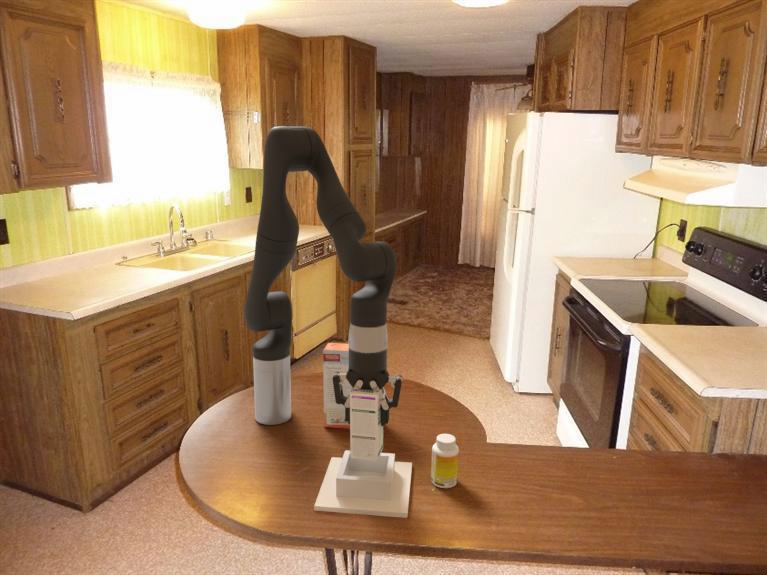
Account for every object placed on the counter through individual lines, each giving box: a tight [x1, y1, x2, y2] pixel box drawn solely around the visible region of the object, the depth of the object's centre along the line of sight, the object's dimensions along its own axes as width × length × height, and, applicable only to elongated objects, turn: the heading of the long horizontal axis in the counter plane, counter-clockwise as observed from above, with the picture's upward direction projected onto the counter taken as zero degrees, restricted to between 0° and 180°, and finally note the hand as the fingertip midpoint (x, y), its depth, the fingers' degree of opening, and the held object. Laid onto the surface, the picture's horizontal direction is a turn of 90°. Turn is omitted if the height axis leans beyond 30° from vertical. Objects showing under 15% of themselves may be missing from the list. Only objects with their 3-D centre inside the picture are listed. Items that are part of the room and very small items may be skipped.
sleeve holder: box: [313, 449, 413, 519], centre depth 116 cm, size 18×18×5 cm
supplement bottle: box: [430, 433, 460, 489], centre depth 118 cm, size 6×6×10 cm
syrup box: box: [349, 389, 385, 462], centre depth 113 cm, size 6×6×14 cm
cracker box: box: [322, 342, 353, 430], centre depth 141 cm, size 14×6×21 cm, turn 83°
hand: (367, 423), depth 113 cm, fingers closed on syrup box, 6 cm apart
